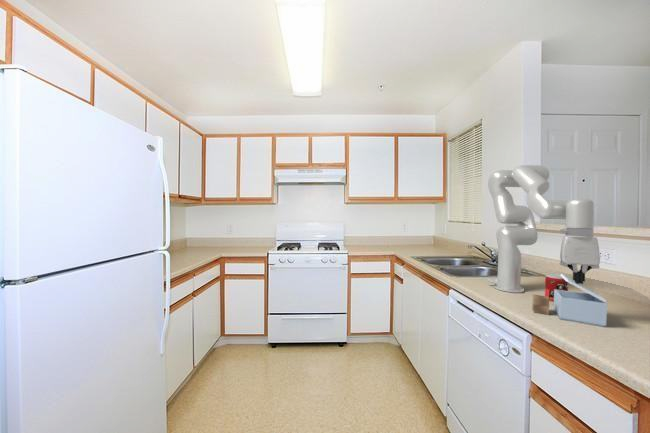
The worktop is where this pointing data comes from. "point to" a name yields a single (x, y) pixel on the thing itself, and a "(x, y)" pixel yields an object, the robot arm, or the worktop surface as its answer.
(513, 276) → the robot arm
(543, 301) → the block
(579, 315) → the carton
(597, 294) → the flap
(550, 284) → the canned food
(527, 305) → the worktop surface
